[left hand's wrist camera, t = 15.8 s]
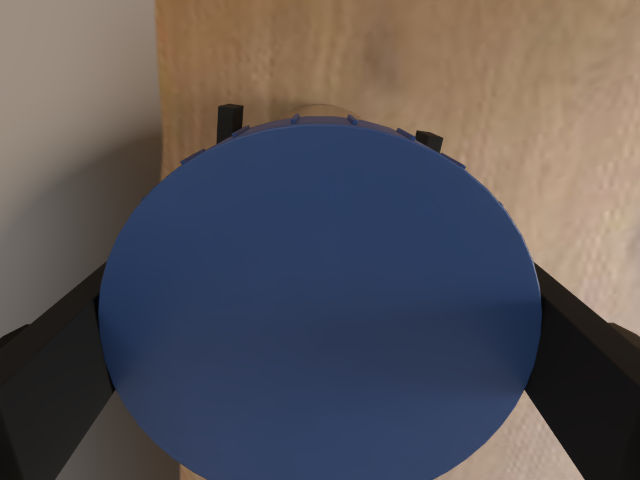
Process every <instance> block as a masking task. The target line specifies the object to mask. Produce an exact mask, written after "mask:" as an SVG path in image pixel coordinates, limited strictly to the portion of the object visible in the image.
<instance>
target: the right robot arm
mask: <svg viewBox="0 0 640 480" xmlns="http://www.w3.org/2000/svg"><path fill="white" fill-rule="evenodd" d="M242 120H243V106H242V105H235V104H226V105H221V106H218V125H217V144H218V143H220V142H222V141H223V140H225V139H227V138H229V137H231V136H232V133H234V132H236V131H238V130H240V129H242ZM415 137H416V139H415V140H417V141H419V142H420V143H422V144H424V145H425V146H427V147H429V148H431V149H432V150H434V151H436V152H438V153H439V154H440V150H441V145H442V141H443V138H442V137H440V136H437V135H435V134H433V133H430V132H424V131H417V132H416V136H415Z"/></svg>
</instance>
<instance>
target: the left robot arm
mask: <svg viewBox="0 0 640 480" xmlns="http://www.w3.org/2000/svg"><path fill="white" fill-rule="evenodd" d="M106 263H107V261H106V262H105V263H104V264H103V265H102V266H100V267H99V268H98V269H97V270H96V271H94V272H93V273H92V274H91V275H90V276H88V277H87V278H86V279H85V280H83V281H82V282H81V283H80V284H79V285H77V286H76V287H75V288H74V289H73V290H71V291H70V292H69V293H68V294H67V295H65V296H64V297H63V298H62V299H60V300H59V301H58V302H57V303H56V304H54V305H53V306H52V307H51V308H50V309H48V310H47V311H46V312H45V313H44V314H42V315H41V316H40V317H39V318H38V319H36V320H35V321H34V322H33V323H31V324H26V325H24V326H22V327H20V328H18V329H16V330H14V331H12V332H10V333H9V334H7V335H5V336H3V337H2V338H0V480H55V479H56V477H57V476H58V474H59V473H60V471H61V470H62V468H63V467H64V465H65V464H66V462H67V461H68V459H69V458H70V457H71V455H72V454H73V452H74V451H75V449H76V448H77V446H78V445H79V443H80V442H81V440H82V439H83V437H84V436H85V434H86V433H87V431H88V430H89V428H90V427H91V425H92V424H93V422H94V421H95V419H96V418H97V416H98V415H99V413H100V412H101V410H102V409H103V407H104V406H105V404H106V403H107V401H108V400H109V398H110V397H111V395H112V394H113V392H114V391H115V387H114V385H113V383H112V380H111V377H110V375H109V372H108V369H107V367H106V363H105V359H104V354H103V350H102V345H101V340H100V335H99V321H98V307H99V297H100V286H101V282H102V278H103V275H104V271H105V267H106ZM533 263H534V262H533ZM534 266H535V270H536V274H537V278H538V282H539V286H540V296H541V306H542V323H541V335H540V340H539V345H538V350H537V354H536V359H535V363H534V367H533V370H532V373H531V375H530V378H529V381H528V383H527V386H526V388H525V389H524V390H525V391H526V393H527V394H528V396H529V397H530V399H531V400H532V402H533V403H534V405H535V406H536V408H537V409H538V411H539V412H540V414H541V415H542V417H543V418H544V420H545V421H546V423H547V424H548V426H549V427H550V429H551V430H552V432H553V433H554V435H555V436H556V438H557V439H558V440H559V442H560V443H561V445H562V446H563V448H564V449H565V451H566V452H567V454H568V455H569V457H570V458H571V460H572V461H573V463H574V464H575V466H576V467H577V469H578V470H579V472H580V473H581V475H582V476H583V478H584V479H585V480H640V337H639V336H638V335H637V334H635V333H633V332H631V331H629V330H627V329H625V328H623V327H621V326H619V325H617V324H615V323H607V322H606V321H605V320H603V319H602V318H601V317H600V316H599V315H597V314H596V313H595V312H594V311H593V310H591V309H590V308H589V307H588V306H587V305H585V304H584V303H583V302H582V301H580V300H579V299H578V298H577V297H576V296H574V295H573V294H572V293H571V292H570V291H568V290H567V289H566V288H565V287H564V286H562V285H561V284H560V283H559V282H557V281H556V280H555V279H554V278H553V277H551V276H550V275H549V274H548V273H547V272H545V271H544V270H543V269H542V268H541V267H539V266H538V265H537V264H536V263H534Z"/></svg>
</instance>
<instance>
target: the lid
mask: <svg viewBox="0 0 640 480" xmlns="http://www.w3.org/2000/svg"><path fill="white" fill-rule="evenodd" d="M415 139H416V137H415V136H413V135H411V134H409V133H408V132H406V131H404V130H402V129H400V128H398V129H397V131H395V130H393V129H391V128H388V127H385V126H381V125H378V124H374V123H371V122H367V121H364V120H358V119H356V118H354V117H353V116H352V115H349V114H348V116H347V118H344V117H337V116H303V117H300V114H295V115H294V116H293V117H292V118H289V119H281V120H277V121H273V122H269V123H266V124H262V125H259V126H255V127H252V128H250V127H249V125H248V126H245V127H243V128H242V129H240V130H238V131H236V132H234V133H232V136H231V137H229V138H227V139H225V140H223V141H222V142H220V143H218V144H216V145H215V146H213V147H211V148H209V149H208V150H205V149H202V150H200V151H199V152H197V153H195V154H193V155H191V156H189V157H188V158H186V159H184V160H182V161H181V162H180V163H181V164H182V165H181V166H180V167H178V168H177V169H176V170H174V171H173V172H172V173H171V174H170V175H168V176H167V177H166V178H165V179H164V180H162V181H161V182H160V183H159V184H158V185H157V186H155V187H154V188H153V189H152V190H151V192H150V193H149V194H148V195H146V196H145V197H143V199H142V200H141V201H142V202H141V203H140V204H139V205H138V206H137V207H136V209H135V210H134V211H133V212H132V214H131V216H130V217H129V219H128V220H127V222H126V223H125V225H124V227H123V228H122V230H121V231H120V233H119V234H118V237H117V239H116V241H115V243H114V246H113V248H112V250H111V253H110V255H109V257H108V260H107V263H106V267H105V271H104V275H103V278H102V282H101V286H100V297H99V307H98V321H99V335H100V340H101V345H102V350H103V354H104V359H105V363H106V367H107V369H108V372H109V375H110V377H111V380H112V383H113V385H114V387H115V389H116V391H117V393H118V395H119V396H120V398H121V400H122V402H123V404H124V406H125V407H126V409H127V410H128V411H129V413H130V414H131V416H132V417H133V418H134V420H135V421H136V422H137V424H138V425H139V426H140V427H141V429H142V430H143V431H144V432H145V433H146V434H147V435H148V436H149V437H150V438H151V439H152V440H153V441H154V443H156V444H157V445H158V446H159V447H160V448H161V449H163V450H164V451H165V452H166V453H167V454H168V455H170V456H171V457H172V458H173V459H175V460H176V461H178V462H179V463H180V464H182V465H183V466H185V467H186V468H188V469H189V470H191V471H192V472H194V473H196V474H198V475H200V476H202V477H203V478H205V479H207V480H433V479H435V478H437V477H439V476H441V475H443V474H444V473H446V472H448V471H449V470H451V469H452V468H454V467H455V466H457V465H458V464H460V463H461V462H463V461H464V460H466V459H467V458H468V457H469V456H471V455H472V454H473V453H474V452H475V451H477V450H478V449H479V448H480V447H481V446H482V445H484V444H485V443H486V442H487V441H488V440H489V438H490V437H491V436H492V435H493V434H494V433H495V432H496V431H497V430H498V429H499V428H500V427H501V425H502V424H503V423H504V421H505V420H506V419H507V417H508V416H509V414H510V413H511V412H512V410H513V409H514V408H515V406H516V404H517V402H518V400H519V399H520V397H521V395H522V393H523V391H524V389H525V388H526V386H527V383H528V381H529V378H530V375H531V373H532V370H533V367H534V363H535V359H536V354H537V350H538V345H539V340H540V335H541V323H542V306H541V296H540V286H539V282H538V278H537V274H536V270H535V266H534V263H533V259H532V257H531V255H530V253H529V250H528V248H527V246H526V243H525V241H524V239H523V236H522V234H521V233H520V231H519V230H518V228H517V227H516V225H515V223H514V222H513V220H512V219H511V217H510V216H509V214H508V212H507V211H506V210H505V209H504V207H503V205H502V204H501V203H500V202H499V201H497V199H496V198H495V197H494V196H493V195H492V194H491V193H490V191H489V190H488V189H487V188H486V187H485V186H483V185H482V184H481V183H480V182H479V181H477V180H476V179H475V178H474V177H473V176H472V175H470V174H469V173H468V172H467V171H466V170H464V169H465V168H466V167H465V166H464V165H463V164H461V163H459V162H458V161H456V160H454V159H452V158H450V157H449V156H447V155H445V154H443V153H441V154H439V153H438V152H436V151H434V150H432V149H431V148H429V147H427V146H425V145H424V144H422V143H420V142H419V141H417V140H415Z"/></svg>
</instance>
